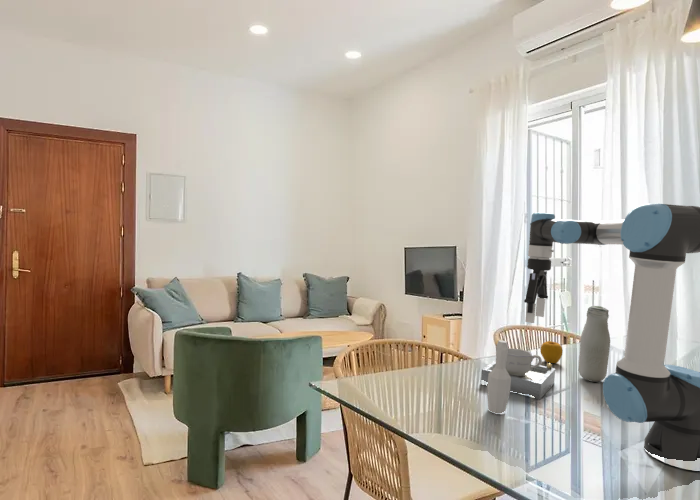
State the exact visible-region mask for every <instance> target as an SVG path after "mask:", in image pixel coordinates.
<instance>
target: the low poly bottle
mask: <svg viewBox="0 0 700 500" xmlns="http://www.w3.org/2000/svg"><path fill="white" fill-rule="evenodd" d="M508 348H509V345H508V342H507V341H506V340H503V339H502V340H501V339H500V340H498V341H497V343H496V346H495V360H496V364H495V368H494V369H493V370H492V371H491V372H490V373H489V374H488V384H487V386H486V387H487V389H486V390H487V392H486V393H487V407H488V408H487V409H489V410H490V411H492V412H495V413H502V412H504V411H505V412H506V409H507V405H508V402H509V398H510V393H511V392H510V386H511V377H510V375H509V374H508V372H507V370H506V359H507V354H508ZM489 410H488V411H489Z"/></svg>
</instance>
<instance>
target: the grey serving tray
mask: <svg viewBox="0 0 700 500" xmlns="http://www.w3.org/2000/svg"><path fill="white" fill-rule="evenodd" d="M495 364H496V359H494V360H493V361H492V362H490V363H489V364H487V365H486V366H485V367H483V368H482V369H481V373H480V374H481V375H480V376H481V377H480V381H481V380H484V381H486V382H488V374H489V373H490V372H491V371H492V370H493V369H494V368H495ZM536 364H537V363H532V362H531V366H533V365H536ZM552 366H553V364H551V363H548V362H546V366H545V365H541V364H540V365H539V366H538V367H536V368H533V369H532V370H531V371H529V372H528V373H526V374H525V375H523V376H515V375H510V374H509V375H510V377H511V386H510V391H513V392H517V393H522V394H529V395H532V396H534V397H535V398H537V399H536V400H538V401H540V400H541V399H542V398H544V396H545V394H547V392H548V391H549V390H550V389H551V388H552V386H553V385H554V384H555V378H556V377H555V376H556V368H555V367H552Z"/></svg>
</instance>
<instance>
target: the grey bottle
mask: <svg viewBox="0 0 700 500" xmlns="http://www.w3.org/2000/svg"><path fill="white" fill-rule="evenodd" d="M609 311H610V310H609V309H607V308H606V307H603V306H600V305H591V306H589V307H588V308H587V311H586V321H585V324H584V326H583V329H582V331H581V335H580V342H579V355H578V356H579V357H578V374H579V376H580V377H581V378H583V379H585V380H587V381H589V382H602V381H604V380H605V378H606V377H607V373H608V366H609V359H610V358H609V357H610V349H611V337H610V335H611V334H610V331H609V323H608V322H609V321H608V320H609V317H610V315H609Z"/></svg>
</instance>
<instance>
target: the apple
mask: <svg viewBox="0 0 700 500" xmlns="http://www.w3.org/2000/svg"><path fill="white" fill-rule="evenodd" d="M540 354H541V356H542V358H543V359H544V360H545V362H546V363H548V362H549V363H556V364H557V363H559V362H560V360H561V358H562V357H563V346H562V345H561V344H560V343H558V342H556V341H549V340H547V341H544V342H543V343H542V344H541V346H540Z"/></svg>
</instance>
